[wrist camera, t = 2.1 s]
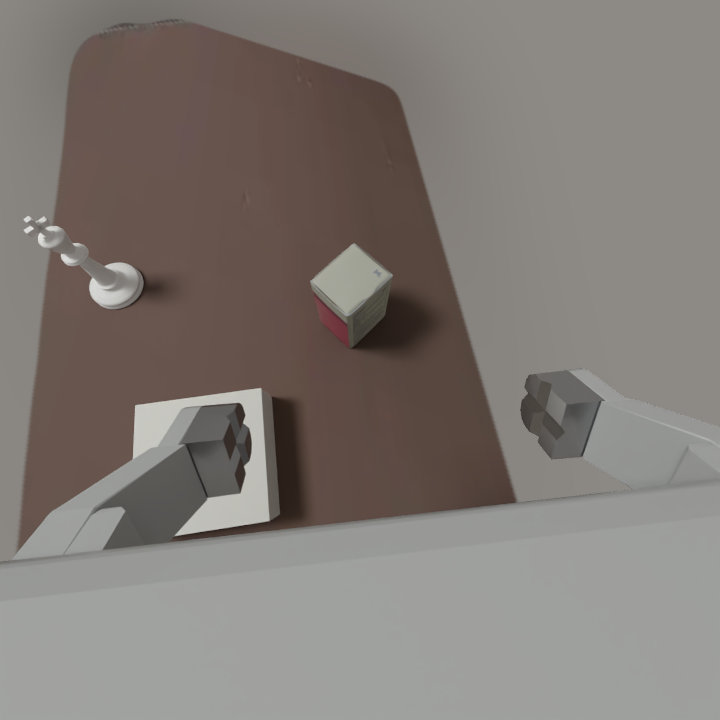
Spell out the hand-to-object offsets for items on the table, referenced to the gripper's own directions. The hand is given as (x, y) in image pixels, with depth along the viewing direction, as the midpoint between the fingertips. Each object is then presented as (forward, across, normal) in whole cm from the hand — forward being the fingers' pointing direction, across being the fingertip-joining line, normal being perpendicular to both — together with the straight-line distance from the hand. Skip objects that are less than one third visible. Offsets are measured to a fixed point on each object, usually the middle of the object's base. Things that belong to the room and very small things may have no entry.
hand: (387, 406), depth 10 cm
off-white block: (+15, -13, -15) cm, 25 cm away
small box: (+24, 0, -7) cm, 25 cm away
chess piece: (+28, -23, -3) cm, 36 cm away
